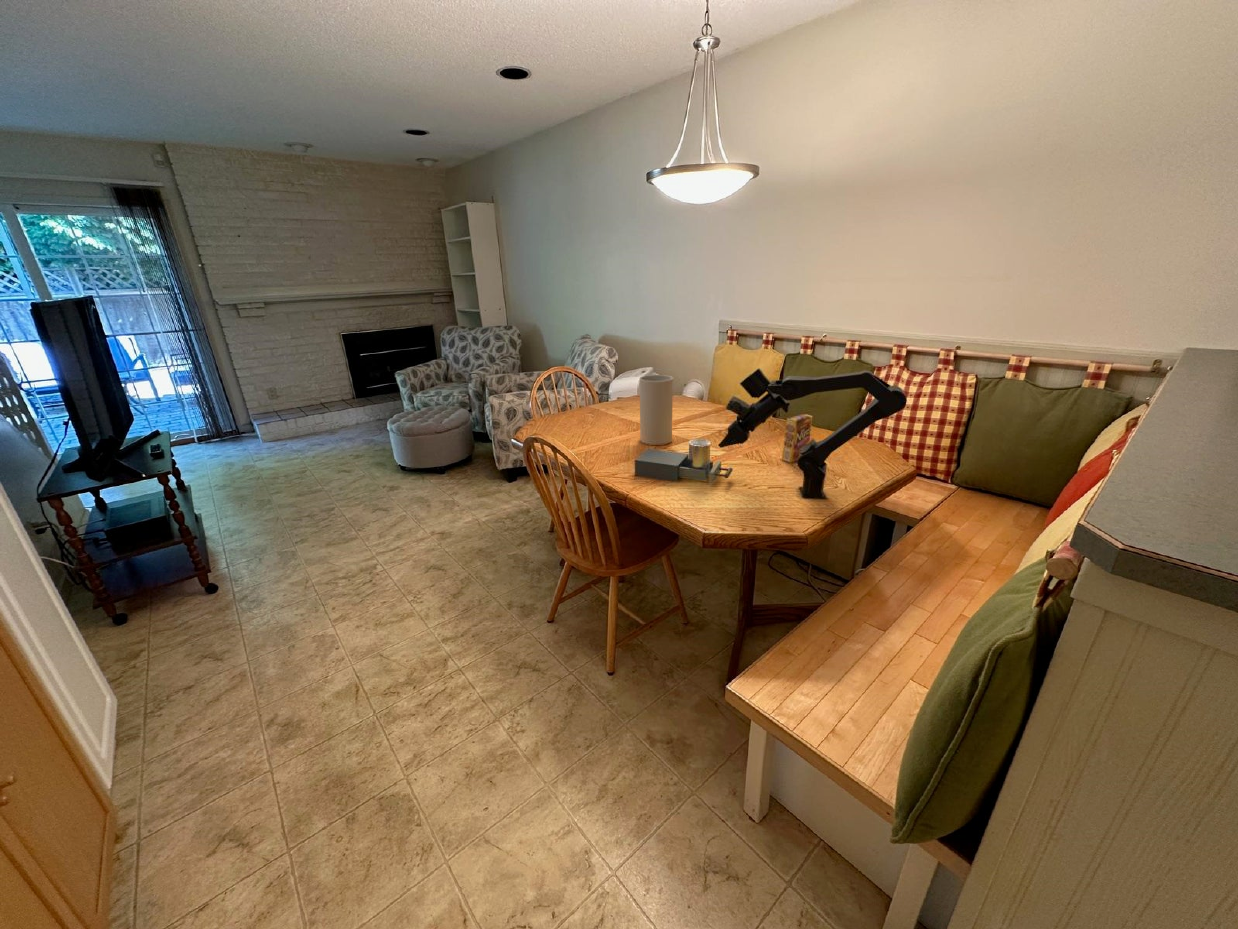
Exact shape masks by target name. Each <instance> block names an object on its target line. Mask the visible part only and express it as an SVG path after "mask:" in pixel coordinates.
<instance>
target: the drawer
mask: <svg viewBox="0 0 1238 929" xmlns="http://www.w3.org/2000/svg"><path fill="white" fill-rule="evenodd" d="M722 471H725V473H722ZM732 472H733V467H728V468H726V467H722V460H717V461H716V462H715V464H714V461H711V460H710V467H709V474H707V475H706V473H707V470H700V469H692V468H689V457H688V458H686V459H685V460H684V461H683V463H682V464H681V465H680V466H679V467H678V477H681V478H680V479H689V480H696V481H703V482H706V481H707V479H709V480H708V484H711V485H712V484H714V483H715V481H717V478H718V477H723V478H724V479H729V478H730V476H731V475H732Z"/></svg>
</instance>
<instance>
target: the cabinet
mask: <svg viewBox="0 0 1238 929" xmlns="http://www.w3.org/2000/svg"><path fill="white" fill-rule="evenodd" d="M686 458H689V453H686V452H677V451H671V450H661V449H653V448H646V449H645V450H644V451H643V452H641V454H640V455H639V456H638V457H637V458H635V459H634V476H635V477H640V478H646V479H647V478H648V479H654V480H655V479H656V480H661V481H668V482H673V483H678V482H679V481H680V480H681V479H682V478H681V477H678V467H679V466H680V465H681V464H682V463H683V461H684V460H685V459H686Z"/></svg>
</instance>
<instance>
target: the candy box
mask: <svg viewBox="0 0 1238 929" xmlns="http://www.w3.org/2000/svg"><path fill="white" fill-rule="evenodd" d="M813 418H814V417H813V415H810V414H807V413H806V414H805V413H801V414H798V415H794V416H790V417H786V425H785V431H784V440H783V446H782V455H781V460H783V461H784V462H787V463H790V464H791V463H794V462H798V458H799V454H800V452H801V450H802V446H805V445H807V444H808V443H809V442H810V438H811V431H812V424H813Z"/></svg>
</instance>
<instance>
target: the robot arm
mask: <svg viewBox="0 0 1238 929" xmlns="http://www.w3.org/2000/svg"><path fill="white" fill-rule="evenodd" d="M739 385H740V386H741V387H742V388H743V390H745V392H746V393H747V394H748V395H749V396H750V397H751V399H753V398H754V399H756V398H757V399H759V400H758V401H757V402H753V403H751V404H749V403H748V402H745V401H744V400H742V399H740V398H739V397H737V396H731V397H730V399H729V401H728V403H727V405H726V407H725V410H727V411H731V412H732V413H734V414H736V420H734V421H733V422H731V423H730V424H729V426H728V427H727V433H726V434H725V436H724V437H723V439H722V440H721V441H720V443H718V447H719V448H726V447H729V446H735V445H742V444H745V443H746V442H747V441H748V440H749V438H751V437H750V434H751V433H753V432H754V431H755V430H756V429H757V428H758V427H759V426H761V425H762V424H765V423H766V422H767V420H768V419H770V418H771V417H772V416H773V415H774V414H776V413H777V412H778V411H780V410H781V409H782V411H783V412H784V413H785V414H788V412H789V410H790V404H791V401H794V400H798V399H801V398H804V397H807V396H809V395H813V394H817V393H825V392H834V391H842V390H851V389H860V388H861V389H864V390H865V391H866V392H867V393H868V394H869V395H871V396H872V397H873V399H872V400H871V402H870V403H869V404H868V405H867V407H865V408H864V409H863V410H861V411H860V412H859V413H857V414H856V415H855V416H854V417H852V418H851V419H849V420H848V421H847V422H845V423H844V424H843V425H841V426H839V427H838V428H837V429H836V430H834V431H833V432H831V433H830V434H829V435H828V436H827V437H825V438H824V439H822V440H819V441H816V440H815V438H812V439H811V440H809V443H808V444H807V445H805V446H802V450H801V452H800V454H799V458H798V460H797V461H796V463H797V467H798V468H799V470H801V471H802V474H803V479H802V486H799V487H798V490H799V493H800V495H801V498H805V499H827V495H826V494H825V492H824V486H825V480H826V475H827V468H828V467H827V466H828V463H826V462H825V461H826V460H827V459H828V458H829V457H830V456H831V454H832V453H833V452H835V451H837V449H839V448H840V447H842V446H843V445H845V444H846V443H847V442H849V441H850V440H851V439H853V438H854V437H856V436H857V435H858V434H861V432H863V431H864V430H866V429H867V428H868V427H870V426H872V425H873V424H874V423H876V422H877V421H881V420H884V419H886V418H889V417H891V416H893V415H895V414H897V413H899V412H901V411H902V410H904V408H905V407H906V405H907V401H908V400H907V396H906V393H905V391H904V389H903V388H902V387H900V386H898V385H891V384H889V383H888V382H887V381H885V380H883V379H882V378H880V377H879V376H877V375H875V373H873V372H872V371H871V370H869V369H864V370H861V371H855V372H846V373H838V374H830V375H824V376H816V377H815V376H805V375H788V376H786V377H785V378H784V379H775V380H770V379H769V378H768V377H767V376H766V375H765V374H764V372H763V370H762V369H761V368H760V367H758V368H757V369H756V370H754V371H753V372H752V373H749V375H747V376H746V377H745V378H744V379H743V380H741V381H740V383H739ZM764 394H765V395H764Z"/></svg>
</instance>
